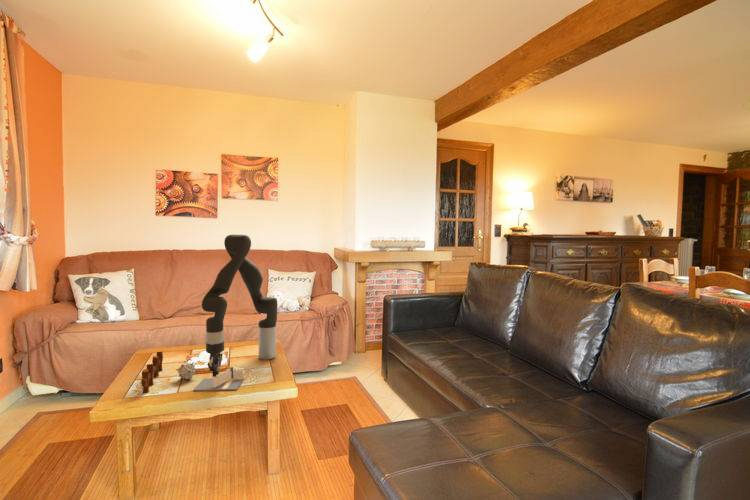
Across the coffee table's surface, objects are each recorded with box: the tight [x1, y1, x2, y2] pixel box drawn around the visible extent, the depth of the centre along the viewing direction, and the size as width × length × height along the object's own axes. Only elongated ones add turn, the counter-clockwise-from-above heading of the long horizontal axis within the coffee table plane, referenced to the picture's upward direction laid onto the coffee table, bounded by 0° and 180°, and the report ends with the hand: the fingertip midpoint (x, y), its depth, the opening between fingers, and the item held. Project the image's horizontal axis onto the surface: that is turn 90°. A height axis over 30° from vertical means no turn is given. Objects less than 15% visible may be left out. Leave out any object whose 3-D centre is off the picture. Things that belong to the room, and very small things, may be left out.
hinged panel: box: [211, 366, 234, 388], centre depth 177 cm, size 13×1×5 cm, turn 161°
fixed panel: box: [233, 367, 245, 380], centre depth 182 cm, size 4×1×5 cm, turn 94°
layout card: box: [192, 377, 245, 392], centre depth 176 cm, size 13×18×1 cm
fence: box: [140, 351, 164, 394], centre depth 181 cm, size 34×3×10 cm, turn 17°
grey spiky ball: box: [175, 360, 199, 382], centre depth 182 cm, size 9×8×10 cm
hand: (215, 378), depth 175 cm, fingers closed
